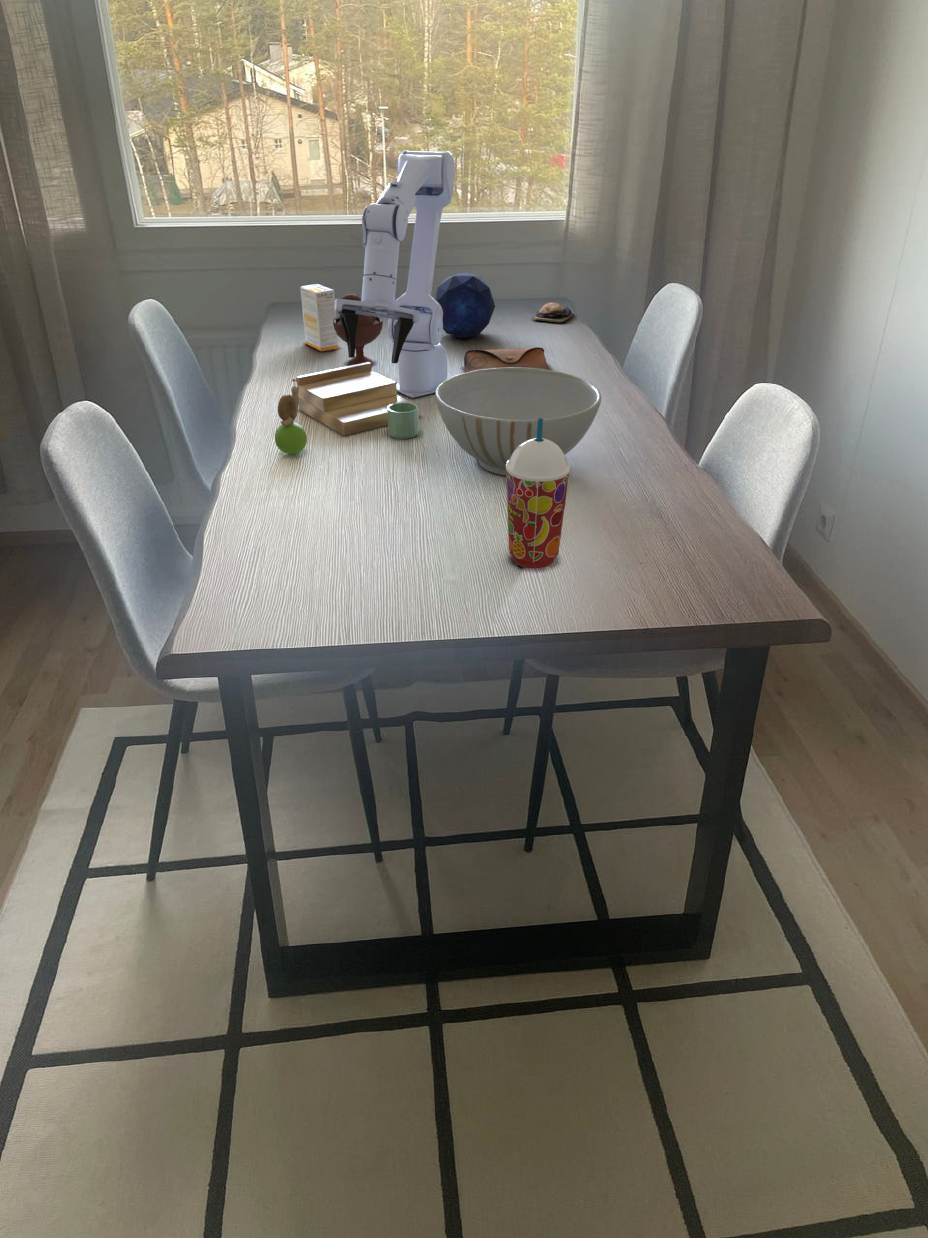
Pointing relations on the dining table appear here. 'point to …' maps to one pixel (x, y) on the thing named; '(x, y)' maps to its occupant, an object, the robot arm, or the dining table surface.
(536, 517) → the smoothie
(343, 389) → the shelf
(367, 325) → the ice cream bowl
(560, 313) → the sandwich
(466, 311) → the decorative orb
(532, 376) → the decorative bowl
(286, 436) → the snail figurine
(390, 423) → the green cup
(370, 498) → the dining table surface
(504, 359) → the sunglasses case
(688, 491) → the dining table surface
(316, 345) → the supplement box
